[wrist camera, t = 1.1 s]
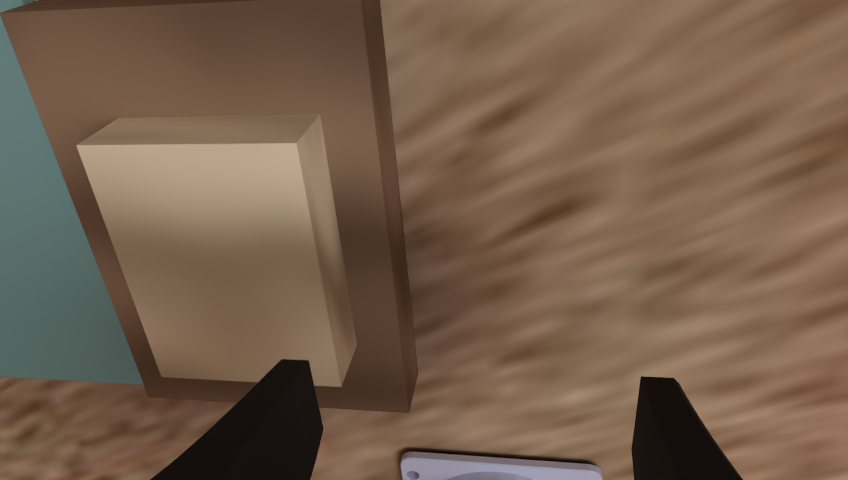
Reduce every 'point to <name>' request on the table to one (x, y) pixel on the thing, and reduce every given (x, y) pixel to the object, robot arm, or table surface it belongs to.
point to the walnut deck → (239, 96)
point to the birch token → (227, 242)
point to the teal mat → (47, 256)
